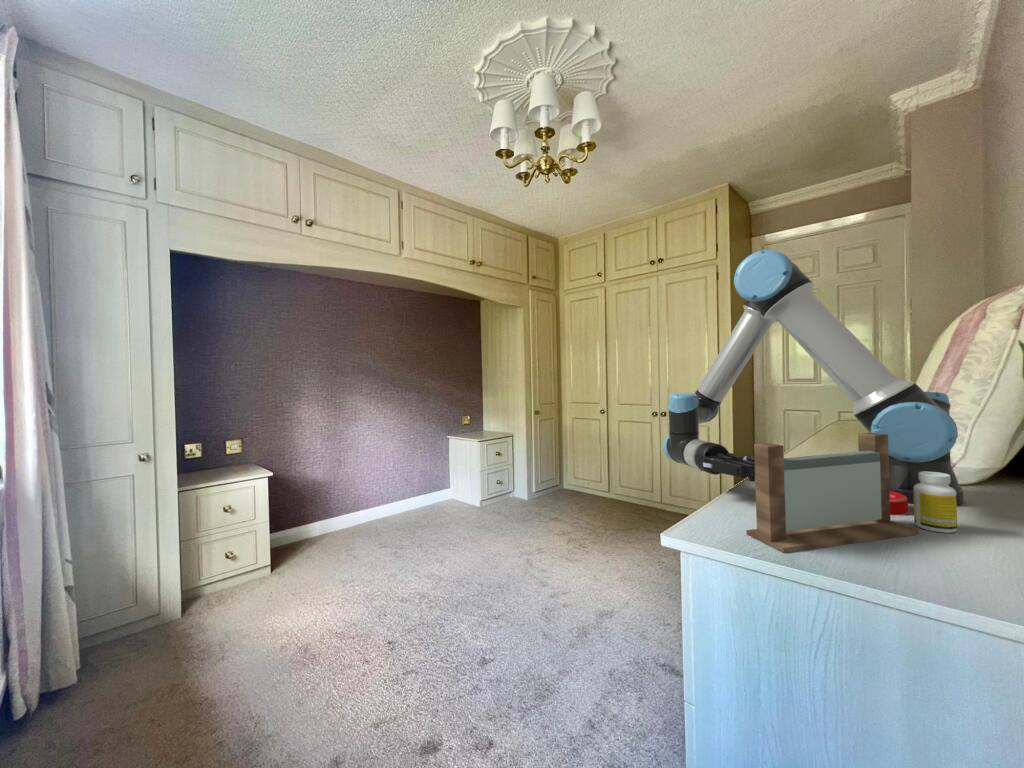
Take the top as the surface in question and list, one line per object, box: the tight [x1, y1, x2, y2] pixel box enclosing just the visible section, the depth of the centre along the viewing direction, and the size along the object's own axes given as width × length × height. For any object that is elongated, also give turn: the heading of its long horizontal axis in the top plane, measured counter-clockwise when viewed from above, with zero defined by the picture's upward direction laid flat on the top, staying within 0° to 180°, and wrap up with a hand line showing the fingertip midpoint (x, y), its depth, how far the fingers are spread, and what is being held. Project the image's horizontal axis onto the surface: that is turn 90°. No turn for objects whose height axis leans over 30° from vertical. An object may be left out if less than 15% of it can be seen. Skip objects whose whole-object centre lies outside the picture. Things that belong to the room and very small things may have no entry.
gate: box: [784, 451, 882, 531], centre depth 73 cm, size 20×2×12 cm, turn 101°
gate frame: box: [745, 432, 920, 553], centre depth 73 cm, size 27×8×17 cm, turn 101°
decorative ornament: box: [890, 491, 909, 516], centre depth 86 cm, size 10×10×3 cm
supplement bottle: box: [913, 471, 958, 534], centre depth 74 cm, size 5×5×10 cm
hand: (784, 479), depth 81 cm, fingers closed
